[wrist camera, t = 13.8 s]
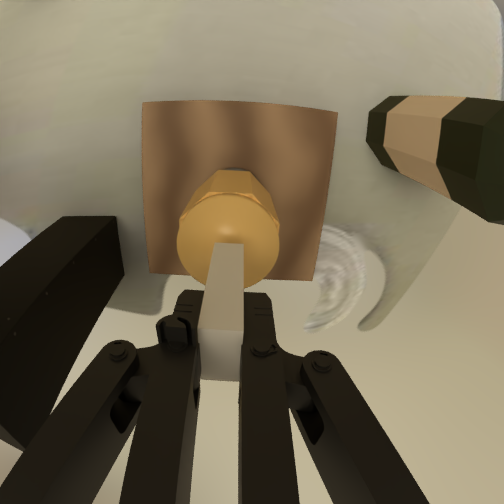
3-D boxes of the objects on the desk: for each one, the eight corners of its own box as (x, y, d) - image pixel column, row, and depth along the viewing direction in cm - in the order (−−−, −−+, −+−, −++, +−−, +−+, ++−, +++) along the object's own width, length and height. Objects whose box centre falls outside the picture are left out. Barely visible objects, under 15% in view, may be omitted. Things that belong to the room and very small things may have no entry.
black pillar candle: (125, 275, 33) (23, 492, 8) (74, 271, 33) (-40, 448, 8) (116, 214, 30) (-52, 433, 5) (62, 215, 29) (-100, 382, 4)
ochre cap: (195, 237, 26) (179, 287, 19) (196, 169, 23) (174, 195, 16) (265, 241, 26) (273, 292, 19) (271, 172, 23) (285, 200, 16)
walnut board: (154, 264, 33) (149, 272, 31) (149, 103, 24) (142, 102, 23) (308, 271, 34) (312, 280, 32) (331, 112, 25) (337, 112, 24)
